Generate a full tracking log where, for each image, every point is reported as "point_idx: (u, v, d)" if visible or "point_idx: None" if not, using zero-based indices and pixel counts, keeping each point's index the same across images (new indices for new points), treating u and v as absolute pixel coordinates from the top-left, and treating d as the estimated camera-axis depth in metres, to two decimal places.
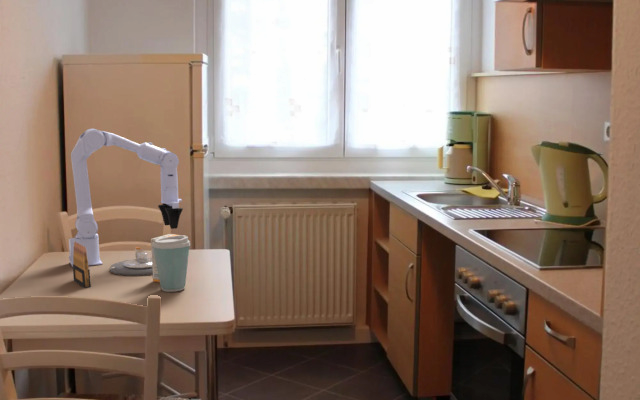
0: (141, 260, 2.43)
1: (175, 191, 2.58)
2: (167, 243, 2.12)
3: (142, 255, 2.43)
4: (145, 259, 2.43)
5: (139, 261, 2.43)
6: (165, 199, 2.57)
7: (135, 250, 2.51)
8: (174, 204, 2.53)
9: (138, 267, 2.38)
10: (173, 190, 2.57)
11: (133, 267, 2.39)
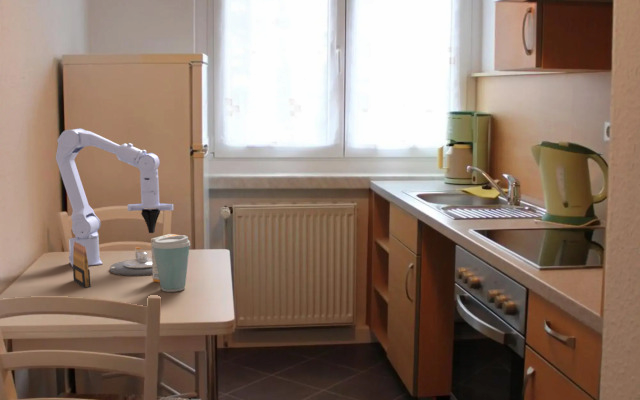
0: (141, 260, 2.43)
1: None
2: (167, 243, 2.12)
3: (142, 255, 2.43)
4: (145, 259, 2.43)
5: (139, 261, 2.43)
6: (154, 203, 2.46)
7: (135, 250, 2.51)
8: (172, 206, 2.47)
9: (138, 267, 2.38)
10: (158, 193, 2.48)
11: (133, 267, 2.39)
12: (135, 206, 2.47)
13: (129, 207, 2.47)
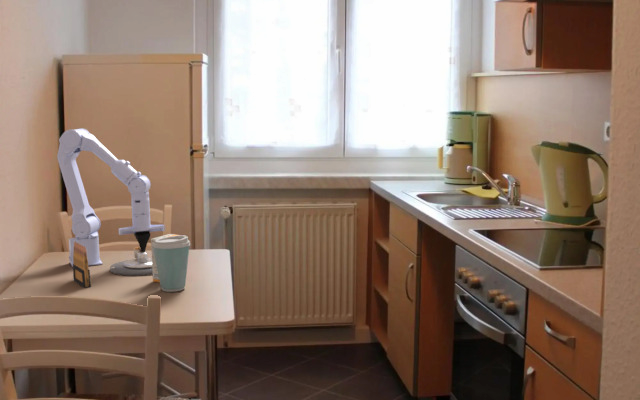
0: (141, 260, 2.43)
1: None
2: (167, 243, 2.12)
3: (142, 255, 2.43)
4: (145, 259, 2.43)
5: (139, 261, 2.43)
6: (149, 225, 2.48)
7: (134, 250, 2.51)
8: None
9: (139, 267, 2.38)
10: None
11: (134, 267, 2.39)
12: (128, 229, 2.46)
13: (121, 231, 2.46)
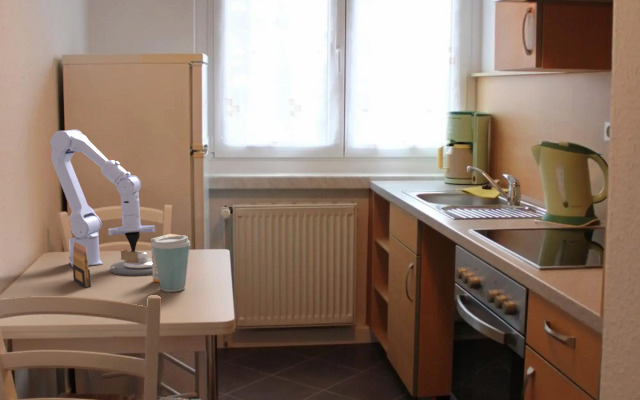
0: (144, 259, 2.43)
1: None
2: (167, 243, 2.12)
3: (145, 255, 2.43)
4: (147, 258, 2.44)
5: (142, 261, 2.43)
6: (138, 226, 2.46)
7: (121, 253, 2.47)
8: (154, 227, 2.49)
9: (150, 266, 2.40)
10: None
11: (145, 267, 2.39)
12: (117, 230, 2.45)
13: (110, 231, 2.45)
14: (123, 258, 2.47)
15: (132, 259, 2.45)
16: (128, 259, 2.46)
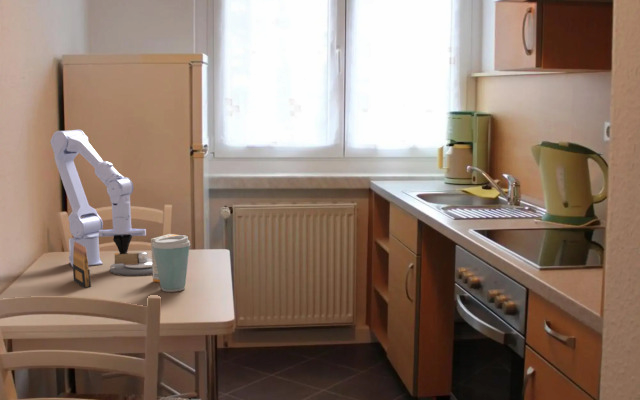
0: (146, 259, 2.44)
1: None
2: (167, 243, 2.12)
3: None
4: None
5: (145, 261, 2.43)
6: (127, 229, 2.42)
7: (116, 256, 2.42)
8: (145, 231, 2.44)
9: None
10: (130, 218, 2.44)
11: None
12: (107, 232, 2.42)
13: (100, 233, 2.43)
14: (118, 262, 2.42)
15: (130, 261, 2.43)
16: (125, 262, 2.43)
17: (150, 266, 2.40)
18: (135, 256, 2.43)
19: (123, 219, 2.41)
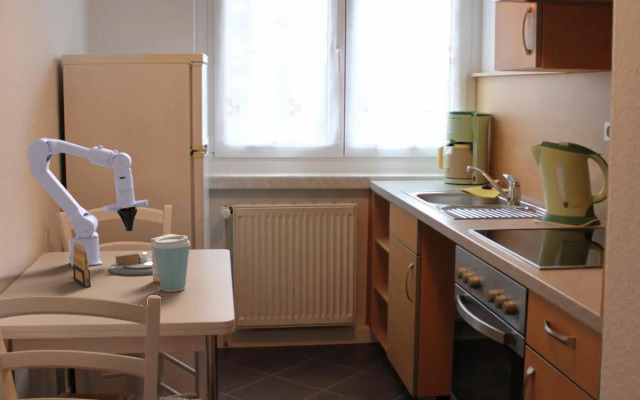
0: (147, 258, 2.44)
1: None
2: (167, 243, 2.12)
3: None
4: None
5: (146, 260, 2.44)
6: (134, 201, 2.51)
7: (118, 258, 2.39)
8: None
9: None
10: None
11: None
12: (115, 206, 2.47)
13: (108, 208, 2.47)
14: (120, 264, 2.39)
15: (132, 262, 2.42)
16: (127, 263, 2.41)
17: None
18: (137, 256, 2.42)
19: (131, 191, 2.49)
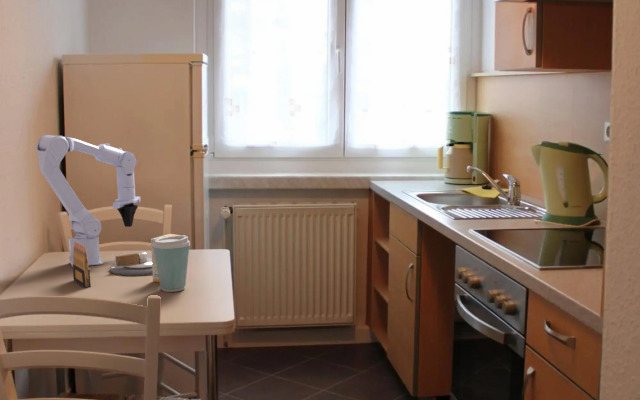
0: (147, 258, 2.44)
1: None
2: (167, 243, 2.12)
3: None
4: None
5: (146, 260, 2.44)
6: None
7: (118, 258, 2.39)
8: None
9: None
10: None
11: None
12: (124, 202, 2.55)
13: (119, 204, 2.53)
14: (120, 264, 2.39)
15: (132, 262, 2.42)
16: (127, 263, 2.41)
17: None
18: (137, 256, 2.42)
19: (134, 188, 2.59)
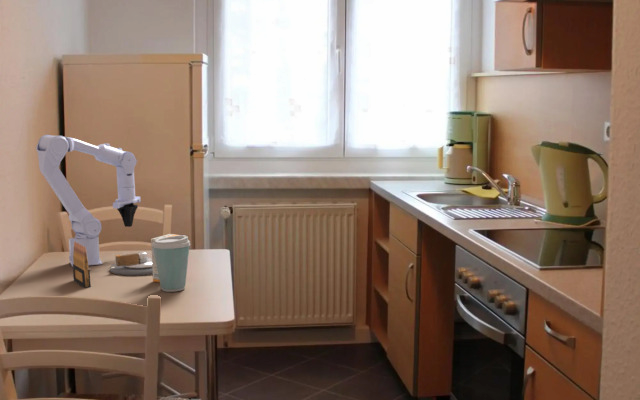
0: (147, 258, 2.44)
1: None
2: (167, 243, 2.12)
3: None
4: None
5: (146, 260, 2.44)
6: None
7: (118, 258, 2.39)
8: None
9: None
10: None
11: None
12: (124, 202, 2.55)
13: (119, 204, 2.53)
14: (120, 264, 2.39)
15: (132, 262, 2.42)
16: (127, 263, 2.41)
17: None
18: (137, 256, 2.42)
19: (134, 188, 2.59)
